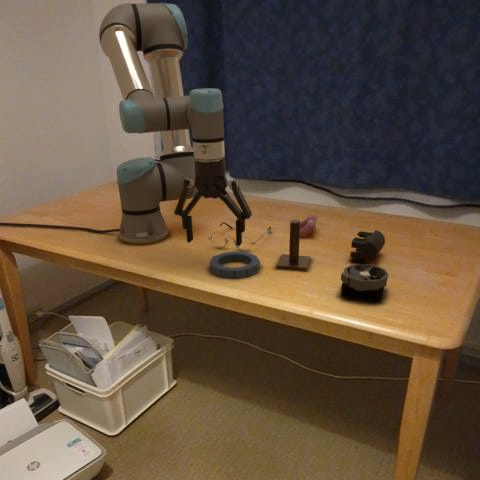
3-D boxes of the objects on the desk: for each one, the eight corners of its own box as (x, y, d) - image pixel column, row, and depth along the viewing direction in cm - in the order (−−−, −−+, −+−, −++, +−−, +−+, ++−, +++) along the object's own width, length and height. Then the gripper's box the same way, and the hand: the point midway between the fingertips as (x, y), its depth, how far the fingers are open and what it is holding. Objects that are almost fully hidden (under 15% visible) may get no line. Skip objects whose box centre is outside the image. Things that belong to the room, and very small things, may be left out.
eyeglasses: (204, 248, 143) (203, 232, 140) (227, 228, 158) (227, 213, 155) (255, 253, 138) (255, 237, 135) (274, 232, 153) (274, 217, 150)
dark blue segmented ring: (204, 275, 125) (203, 268, 124) (219, 257, 136) (218, 249, 135) (252, 280, 122) (252, 272, 121) (263, 260, 133) (263, 253, 132)
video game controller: (308, 243, 148) (319, 224, 144) (295, 236, 148) (306, 217, 144) (310, 232, 156) (321, 214, 153) (298, 226, 156) (308, 207, 152)
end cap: (375, 267, 128) (378, 243, 124) (349, 263, 130) (351, 239, 127) (383, 254, 135) (386, 231, 132) (358, 250, 138) (360, 227, 135)
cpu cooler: (390, 265, 114) (385, 283, 106) (387, 287, 117) (382, 306, 109) (346, 260, 117) (338, 277, 109) (344, 281, 120) (336, 299, 112)
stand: (276, 268, 128) (277, 225, 122) (282, 257, 135) (282, 215, 129) (306, 271, 126) (308, 227, 120) (310, 259, 133) (312, 217, 127)
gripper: (155, 161, 116) (165, 244, 127) (255, 163, 110) (257, 250, 121) (168, 155, 123) (175, 234, 133) (263, 157, 117) (263, 240, 127)
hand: (214, 242), depth 127 cm, fingers open, 13 cm apart
